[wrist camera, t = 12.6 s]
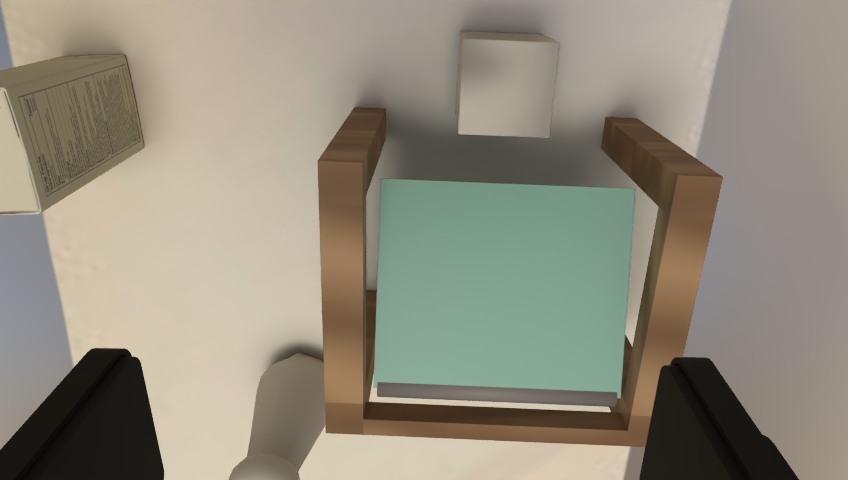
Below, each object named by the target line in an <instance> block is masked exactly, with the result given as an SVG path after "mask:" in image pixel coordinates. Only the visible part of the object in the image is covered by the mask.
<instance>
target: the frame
mask: <svg viewBox="0 0 848 480" xmlns="http://www.w3.org/2000/svg"><path fill="white" fill-rule="evenodd" d="M385 127H386V109H379V108H354V109H353V110H352V112H351V113H350V115H349V116H348V118H347V119H346V120H345V122H344V123H343V125H342V126H341V128H340V129H339V131H338V132H337V134H336V135H335V136H334V138H333V139H332V141H331V142H330V144H329V145H328V147H327V148H326V150H325V151H324V152H323V154H322V155H321V157H320V158H319V160H318V187H319V220H320V254H321V287H322V320H323V353H324V387H325V420H326V433H337V434H360V435H383V436H406V437H429V438H452V439H475V440H498V441H521V442H544V443H567V444H590V445H613V446H636V447H646V442H647V436H648V431H649V426H650V421H651V416H652V410H653V405H654V400H655V395H656V390H657V384H658V379H659V374H660V370H661V368H662V366H664V365H670V363H671V361H672V359H673V358H675V357H683V353H684V349H685V345H686V340H687V336H688V331H689V327H690V322H691V318H692V313H693V308H694V304H695V299H696V295H697V291H698V286H699V282H700V278H701V273H702V269H703V264H704V260H705V255H706V251H707V246H708V242H709V238H710V233H711V228H712V223H713V220H714V215H715V211H716V206H717V202H718V197H719V193H720V188H721V184H722V179H723V177H722V176H721V175H719V174H718V173H716V172H715V171H713V170H712V169H710V168H709V167H707V166H706V165H704V164H703V163H701V162H700V161H699V160H697V159H696V158H694V157H693V156H691V155H690V154H688V153H687V152H685V151H684V150H682V149H681V148H680V147H678V146H677V145H675V144H674V143H672V142H671V141H669V140H668V139H666V138H665V137H663V136H662V135H660V134H659V133H658V132H656V131H655V130H653V129H652V128H650V127H649V126H647V125H646V124H644V123H643V122H641V121H640V120H638V119H633V118H607V117H606V119H605V126H604V133H603V140H602V147H601V149H602V150H603V151H604V152H605V153H606V154H607V155H608V156H609V157H610V158H611V159H612V160H613V161H614V162H615V163H616V164H617V165H618V166H619V167H620V168H621V169H622V170H623V171H624V172H625V173H626V174H627V175H628V176H629V177H630V178H631V179H632V180H633V181H634V182H635V183H636V184H637V185H638V186H639V187H640V188H641V189H642V190H643V191H644V192H645V193H646V194H647V195H648V196H649V197H650V198H651V199H652V200H653V201H654V202H655V203H656V204H657V205H658V206H659V209H658V214H657V219H656V225H655V230H654V235H653V241H652V246H651V251H650V257H649V262H648V267H647V273H646V278H645V283H644V289H643V294H642V299H641V305H640V310H639V315H638V321H637V326H636V331H635V337H634V342H633V347H632V346H631V344H630V342H629V340H628V338H627V336H626V335H625V341H624V356H623V370H622V384H621V398H620V399H619V398H617V404H616V406H615V407H609V408H610V410H611V412H588V411H565V410H542V409H519V408H496V407H473V406H449V405H426V404H403V403H380V402H369V397H370V391H371V385H372V379H373V373H374V362H375V333H376V303H377V291H369V290H366V194H367V191H368V188H369V185H370V183H371V180H372V177H373V174H374V171H375V168H376V165H377V162H378V159H379V157H380V154H381V151H382V148H383V145H384V142H385Z"/></svg>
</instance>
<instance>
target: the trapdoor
mask: <svg viewBox="0 0 848 480" xmlns="http://www.w3.org/2000/svg"><path fill="white" fill-rule="evenodd" d="M634 199H635V189H626V188H602V187H577V186H552V185H527V184H502V183H478V182H453V181H428V180H403V179H381V185H380V215H379V244H378V274H377V303H376V333H375V362H374V388H377V397H398V398H422V399H445V400H468V401H491V402H514V403H538V404H561V405H584V406H607V407H615V406H616V404H617V398H619V399H620V398H621V384H622V370H623V356H624V341H625V327H626V313H627V299H628V285H629V270H630V256H631V242H632V228H633V214H634Z"/></svg>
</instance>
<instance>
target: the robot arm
mask: <svg viewBox="0 0 848 480" xmlns="http://www.w3.org/2000/svg"><path fill="white" fill-rule="evenodd" d="M0 480H164V468H163V464H162V459H161V454H160V450H159V445H158V441H157V436H156V431H155V427H154V422H153V417H152V413H151V408H150V403H149V399H148V394H147V390H146V385H145V380H144V376H143V371H142V366H141V363H140V360H139V359H138V358H137V357H132V356H131V353H130V352H129V351H128V350H127V349H111V348H94V349H91V350H90V351H89V352H87V353H86V355H85V356H84V357H83V358H82V359H81V360H80V361H79V362H78V364H77V365H76V366H75V367H74V368H73V369H72V370H71V372H70V373H69V374H68V375H67V376H66V377H65V378H64V379H63V381H62V382H61V383H60V384H59V385H58V386H57V387H56V388H55V389H54V390H53V392H52V393H51V394H50V395H49V396H48V397H47V398H46V399H45V401H44V402H43V403H42V404H41V405H40V406H39V407H38V408H37V410H36V411H35V412H34V413H33V414H32V415H31V416H30V417H29V419H28V420H27V421H26V422H25V423H24V424H23V425H22V426H21V427H20V429H19V430H18V431H17V432H16V433H15V434H14V435H13V436H12V438H11V439H10V440H9V441H8V442H7V443H6V444H5V445H4V446H3V448H2V449H1V450H0ZM640 480H799V479H798V478H797V476H796V475H795V473H794V472H793V470H792V469H791V468H790V466H789V465H788V463H787V462H786V460H785V459H784V458H783V456H782V455H781V453H780V452H779V450H778V449H777V448H776V446H775V445H774V443H773V442H772V441H771V440H770V439H769V438H768V437H766V436H764V435H762V434H761V432H760V431H759V430H758V428H757V427H756V425H755V424H754V422H753V421H752V419H751V418H750V416H749V415H748V413H747V412H746V411H745V409H744V408H743V406H742V405H741V403H740V402H739V400H738V399H737V397H736V396H735V394H734V393H733V392H732V390H731V389H730V387H729V386H728V384H727V383H726V381H725V380H724V378H723V377H722V376H721V374H720V372H719V371H718V370H717V368H716V367H715V365H714V364H713V362H712V361H711V360H710V359H708V358H696V357H694V358H693V357H690V358H689V357H675V358H673V359H672V361H671V363H670V365H664V366H662V368H661V370H660V374H659V379H658V384H657V390H656V395H655V400H654V405H653V410H652V416H651V421H650V426H649V431H648V436H647V442H646V447H645V453H644V458H643V463H642V468H641V473H640Z"/></svg>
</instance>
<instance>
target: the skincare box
mask: <svg viewBox="0 0 848 480" xmlns="http://www.w3.org/2000/svg"><path fill="white" fill-rule="evenodd" d="M143 147H144V143H143V138H142V133H141V127H140V122H139V117H138V112H137V108H136V103H135V98H134V93H133V88H132V83H131V78H130V74H129V70H128V66H127V62H126V58H125V56H124V55H82V56H65V57H58V58H54V59H50V60H45V61H41V62H36V63H32V64H28V65H24V66H19V67H15V68H10V69H7V70H2V71H0V215H24V214H40V213H42V212H43V211H45V210H46V209H48V208H49V207H51V206H52V205H54V204H56V203H57V202H59V201H60V200H62V199H63V198H65V197H66V196H68V195H70V194H71V193H73V192H75V191H76V190H78V189H79V188H81V187H83V186H84V185H86V184H87V183H89V182H91V181H92V180H94V179H95V178H97V177H99V176H100V175H102V174H103V173H105V172H106V171H108V170H110V169H111V168H113V167H115V166H116V165H118V164H119V163H121V162H122V161H124V160H126V159H127V158H129V157H130V156H132V155H134V154H135V153H137V152H138V151H140V150H142V149H143Z"/></svg>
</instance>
